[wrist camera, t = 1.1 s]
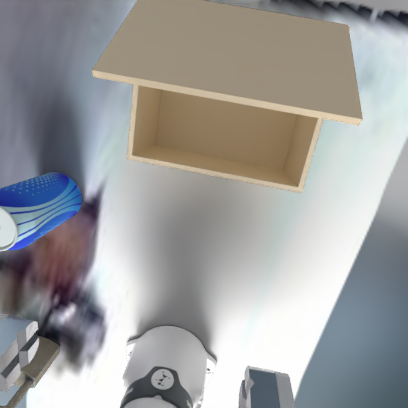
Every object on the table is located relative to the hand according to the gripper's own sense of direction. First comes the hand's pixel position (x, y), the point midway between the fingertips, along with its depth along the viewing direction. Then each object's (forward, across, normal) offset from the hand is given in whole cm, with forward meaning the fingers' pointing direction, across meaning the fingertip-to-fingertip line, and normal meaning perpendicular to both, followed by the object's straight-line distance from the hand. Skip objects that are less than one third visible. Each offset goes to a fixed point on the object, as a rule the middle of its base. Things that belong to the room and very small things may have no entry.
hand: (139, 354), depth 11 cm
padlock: (+36, -29, -47) cm, 66 cm away
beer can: (+38, -25, -12) cm, 47 cm away
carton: (+39, +1, +8) cm, 40 cm away
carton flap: (+22, +1, +13) cm, 25 cm away
